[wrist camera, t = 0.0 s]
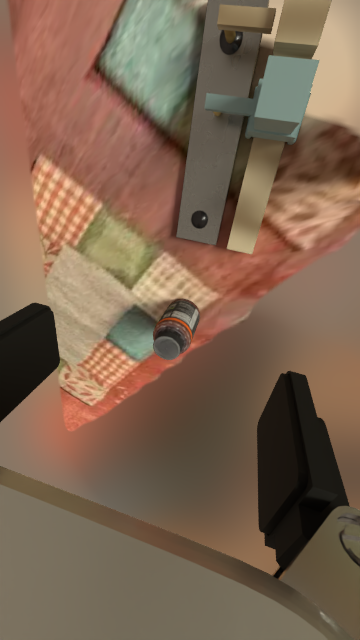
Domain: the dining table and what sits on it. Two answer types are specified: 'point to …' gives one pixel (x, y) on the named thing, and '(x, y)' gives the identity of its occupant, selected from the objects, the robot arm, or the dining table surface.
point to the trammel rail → (291, 41)
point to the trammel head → (273, 100)
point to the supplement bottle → (176, 329)
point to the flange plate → (215, 125)
